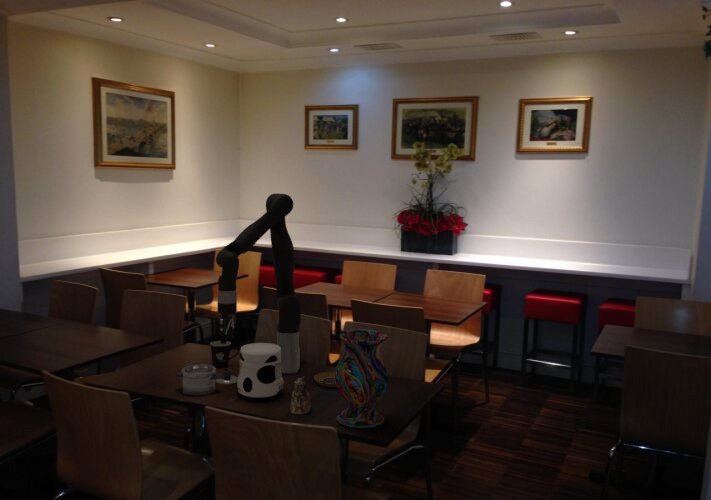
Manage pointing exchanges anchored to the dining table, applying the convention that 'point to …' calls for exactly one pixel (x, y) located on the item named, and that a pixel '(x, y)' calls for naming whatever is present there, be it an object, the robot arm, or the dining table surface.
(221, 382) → the lid
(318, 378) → the plant saucer
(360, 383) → the vase
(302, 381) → the figurine
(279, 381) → the milk container
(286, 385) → the dining table surface
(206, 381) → the pot
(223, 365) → the coffee mug
